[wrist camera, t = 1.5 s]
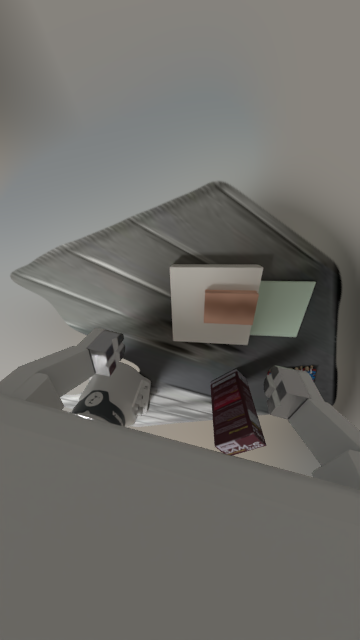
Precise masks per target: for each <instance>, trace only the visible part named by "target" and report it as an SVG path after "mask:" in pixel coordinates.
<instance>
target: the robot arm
mask: <svg viewBox="0 0 360 640" xmlns="http://www.w3.org/2000/svg"><path fill="white" fill-rule="evenodd" d="M123 340H124V336H123V334H122V333H118V332H113V331H109V330H104V329H100V328H95V329H94V330H93V331H92V332H90V333H89V334H88V335H87V336H86V337H85V338H84V339H83V340H82V341H81V342H80V343H79V344H78V345H77V346H72V347H69V348H67V349H64V350H61V351H59V352H56V353H54V354H51V355H48V356H46V357H43V358H41V359H38V360H35V361H33V362H30V363H28V364H25V365H22V366H20V367H18V368H17V369H16V370H14V371H13V372H12V373H11V374H9V375H8V376H7V377H6V378H4V379H3V380H2V381H1V382H0V640H360V430H359V429H357V428H356V427H355V426H354V425H353V424H352V423H351V422H349V421H348V420H347V419H346V418H345V417H344V416H343V415H341V414H340V413H339V412H338V411H337V410H336V409H335V408H333V407H332V406H331V405H330V404H329V403H326V402H324V400H323V398H322V397H321V395H320V393H319V391H318V389H317V387H316V386H315V384H314V382H313V380H312V378H311V376H310V375H309V373H307V372H306V371H301V370H295V369H290V368H285V367H280V366H275V365H274V366H273V367H272V368H271V369H270V372H271V374H269V375H267V376H266V378H265V380H264V385H263V386H264V393H265V395H266V396H267V397H268V398H269V399H268V400H267V405H268V409H269V413H270V415H273V416H277V417H281V418H284V419H288V421H289V423H290V424H291V425H292V427H293V428H294V429H295V431H296V432H297V433H298V435H299V436H300V437H301V439H302V440H303V442H304V443H305V444H306V445H307V447H308V448H309V449H310V451H311V452H312V454H313V455H314V456H315V458H316V459H317V460H318V462H319V463H320V465H321V467H319V468H317V469H316V470H314V471H313V472H312V476H313V477H310V476H306V475H302V474H299V473H295V472H291V471H287V470H284V469H280V468H276V467H273V466H269V465H265V464H261V463H258V462H254V461H250V460H246V459H243V458H239V457H235V456H232V455H228V454H224V453H220V452H217V451H213V450H209V449H205V448H202V447H198V446H194V445H190V444H187V443H183V442H179V441H176V440H171V439H168V438H164V437H161V436H156V435H153V434H149V433H146V432H142V431H138V430H134V429H130V428H126V427H127V426H131V425H133V424H134V423H135V422H136V420H137V417H138V416H142V414H145V413H146V412H147V410H148V403H149V395H150V388H151V381H150V380H149V379H147V378H145V377H143V376H142V375H141V374H140V373H139V372H137V371H136V370H135V369H134V368H132V367H131V366H129V365H127V364H124V363H121V362H119V361H121V359H122V357H123V355H124V352H125V345H124V344H123V342H122V341H123ZM87 379H89V383H88V385H87V386H86V388H85V389H84V391H83V393H82V394H81V396H80V398H79V402H78V404H77V405H76V406H75V407H74V408H73V410H72V412H67V411H63V410H62V409H63V408H64V405H63V403H62V401H61V399H60V397H61V396H63V395H64V394H66V393H67V392H69V391H70V390H72V389H73V388H75V387H77V386H78V385H80V384H81V383H83V382H84V381H86V380H87Z"/></svg>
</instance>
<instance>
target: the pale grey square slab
mask: <svg viewBox="0 0 360 640" xmlns="http://www.w3.org/2000/svg"><path fill="white" fill-rule="evenodd" d="M262 272H263V267H262V266H260V265H258V264H172V265H171V266H170V284H171V306H172V328H173V341H183V342H201V343H219V344H238V345H248V340H249V335H250V330H251V326H252V325H239V324H215V323H204V303H205V290H253V291H257V293H258V292H259V287H260V282H261V277H262Z"/></svg>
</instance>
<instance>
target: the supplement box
mask: <svg viewBox="0 0 360 640" xmlns="http://www.w3.org/2000/svg"><path fill="white" fill-rule="evenodd" d="M211 398H212V413H213V427H214V441H215V442H214V443H215V447H216V448H217V449H219V450H220V451H221V452H223V453H224V454H228V455H235V454H239V453H242V452H246V451H249V450H252V449H256V448H259V447H263V446H266V443H265V439H264V436H263V433H262V429H261V426H260V423H259V419H258V416H257V413H256V409H255V406H254V403H253V399H252V396H251V393H250V390H249V386H248V383H247V380H246V378H245V377H244V376H243V375H242V374H241V373H240V372H239V371H238V370H237V369H235V370H233V371H231V372H229V373H227V374H225V375H224V376H222V377H220V378H218V379H216V380H214V381H212V382H211Z"/></svg>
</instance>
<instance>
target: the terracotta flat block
mask: <svg viewBox="0 0 360 640" xmlns="http://www.w3.org/2000/svg"><path fill="white" fill-rule="evenodd" d="M258 297H259V294H258V293H257V291H253V290H205V303H204V323H215V324H239V325H253V321H254V316H255V311H256V306H257V301H258Z"/></svg>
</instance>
